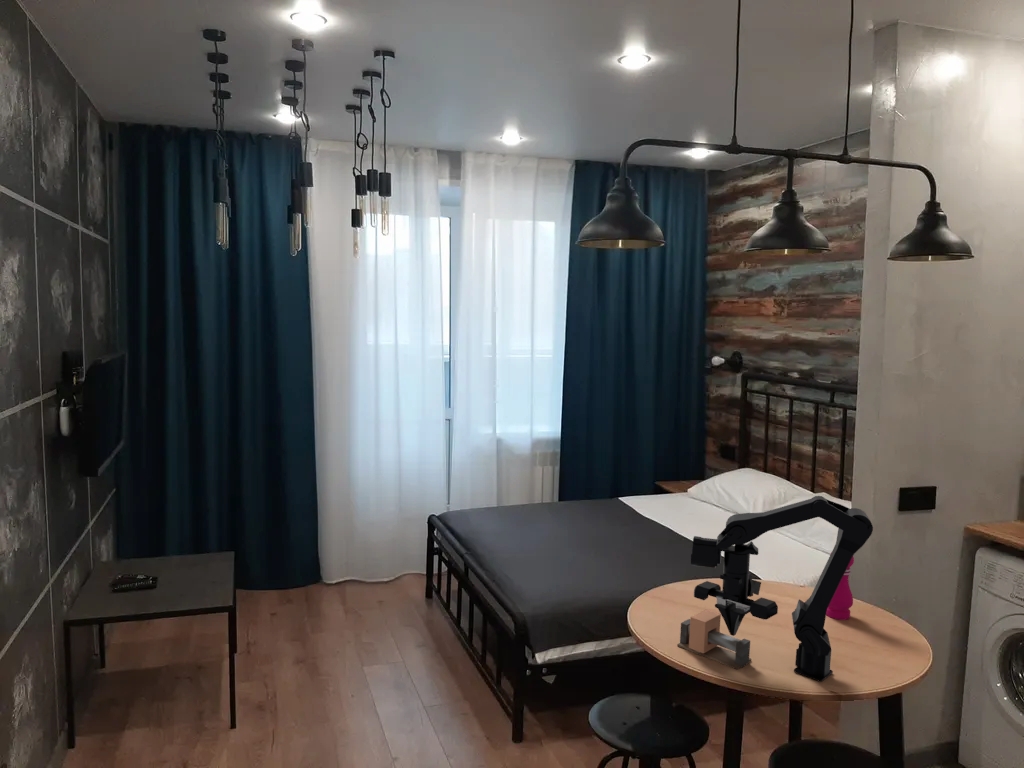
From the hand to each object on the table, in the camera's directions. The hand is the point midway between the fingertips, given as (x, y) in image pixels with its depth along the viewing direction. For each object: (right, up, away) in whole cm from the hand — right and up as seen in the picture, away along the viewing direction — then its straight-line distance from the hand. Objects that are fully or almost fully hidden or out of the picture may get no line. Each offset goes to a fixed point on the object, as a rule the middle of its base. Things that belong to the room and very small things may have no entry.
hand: (733, 634), depth 180 cm
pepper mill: (+37, -4, +29) cm, 47 cm away
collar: (-5, -5, +6) cm, 10 cm away
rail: (-4, -6, +4) cm, 8 cm away
